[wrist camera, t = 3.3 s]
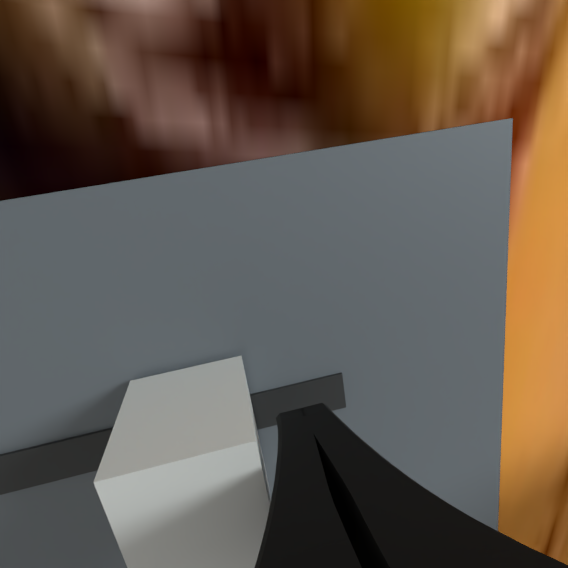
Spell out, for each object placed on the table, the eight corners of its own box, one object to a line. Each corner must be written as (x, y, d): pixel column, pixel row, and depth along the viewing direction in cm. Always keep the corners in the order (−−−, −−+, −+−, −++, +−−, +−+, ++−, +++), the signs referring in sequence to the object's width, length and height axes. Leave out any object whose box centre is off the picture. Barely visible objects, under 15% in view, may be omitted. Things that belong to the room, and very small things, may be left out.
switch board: (487, 122, 11) (515, 117, 10) (478, 645, 19) (494, 673, 18) (-316, 252, 9) (-386, 263, 8) (50, 797, 16) (39, 839, 15)
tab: (241, 355, 11) (256, 440, 7) (265, 469, 12) (287, 584, 9) (130, 380, 10) (93, 482, 7) (167, 494, 12) (151, 626, 8)
